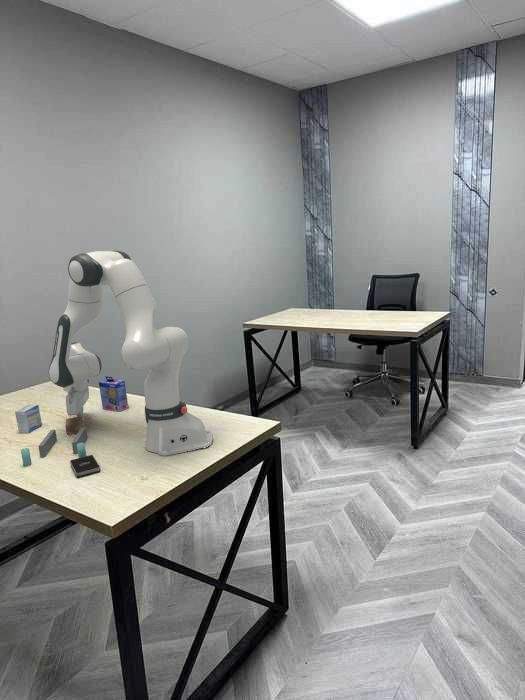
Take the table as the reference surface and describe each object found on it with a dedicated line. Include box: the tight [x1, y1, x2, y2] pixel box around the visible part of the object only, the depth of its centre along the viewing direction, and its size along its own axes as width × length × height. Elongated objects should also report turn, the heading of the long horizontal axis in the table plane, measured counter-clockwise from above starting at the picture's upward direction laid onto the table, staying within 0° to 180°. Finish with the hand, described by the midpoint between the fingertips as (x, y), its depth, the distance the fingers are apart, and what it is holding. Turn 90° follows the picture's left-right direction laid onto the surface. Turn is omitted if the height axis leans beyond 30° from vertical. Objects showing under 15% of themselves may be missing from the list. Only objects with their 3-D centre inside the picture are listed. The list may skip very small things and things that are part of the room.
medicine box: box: [14, 404, 43, 434], centre depth 182 cm, size 8×4×9 cm, turn 168°
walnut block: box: [65, 416, 85, 436], centre depth 179 cm, size 6×8×4 cm
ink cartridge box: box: [98, 375, 129, 413], centre depth 199 cm, size 10×6×14 cm, turn 64°
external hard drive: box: [69, 454, 101, 479], centre depth 148 cm, size 7×11×2 cm, turn 31°
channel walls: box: [37, 426, 88, 458], centre depth 164 cm, size 12×14×4 cm
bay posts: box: [20, 442, 87, 467], centre depth 153 cm, size 19×2×5 cm, turn 98°
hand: (80, 418), depth 187 cm, fingers closed
